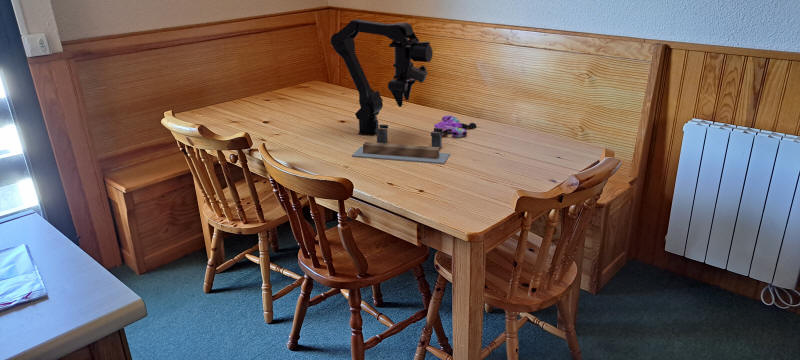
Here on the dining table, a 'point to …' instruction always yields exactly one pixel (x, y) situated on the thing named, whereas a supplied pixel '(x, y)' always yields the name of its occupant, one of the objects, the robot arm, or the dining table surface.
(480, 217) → the dining table surface
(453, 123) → the decorative sculpture
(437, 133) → the grey block
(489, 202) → the dining table surface
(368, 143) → the rail
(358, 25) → the robot arm
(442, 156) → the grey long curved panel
